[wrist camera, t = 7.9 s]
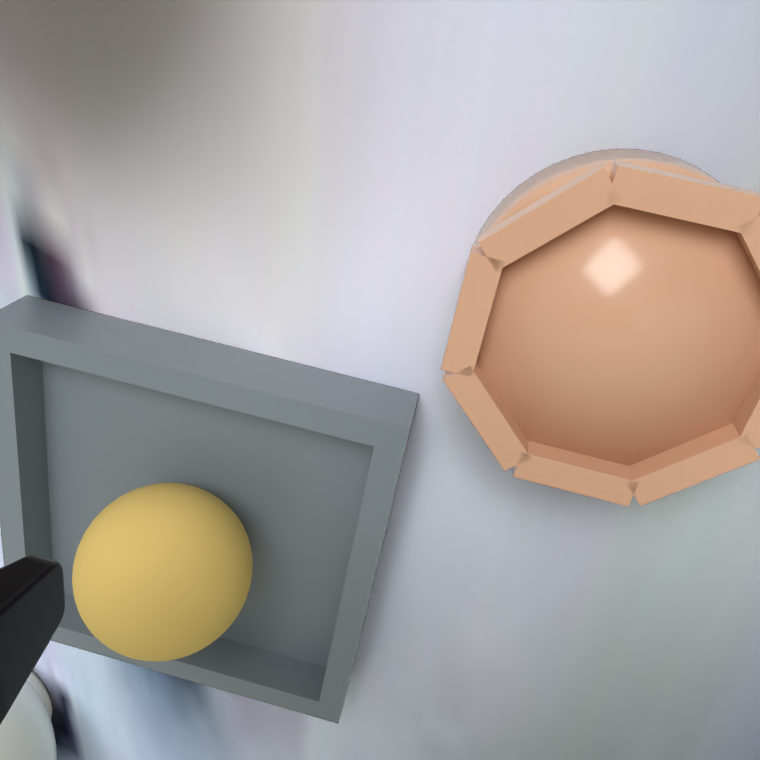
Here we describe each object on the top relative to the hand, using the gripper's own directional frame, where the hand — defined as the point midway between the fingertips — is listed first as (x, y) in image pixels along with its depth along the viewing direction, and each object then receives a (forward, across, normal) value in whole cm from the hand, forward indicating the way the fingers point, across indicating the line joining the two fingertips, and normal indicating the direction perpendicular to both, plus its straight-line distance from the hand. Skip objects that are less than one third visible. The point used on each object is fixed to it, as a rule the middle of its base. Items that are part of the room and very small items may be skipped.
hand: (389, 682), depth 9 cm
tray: (+11, +7, +8) cm, 15 cm away
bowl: (+12, -3, -2) cm, 12 cm away
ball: (+10, +7, +8) cm, 15 cm away
